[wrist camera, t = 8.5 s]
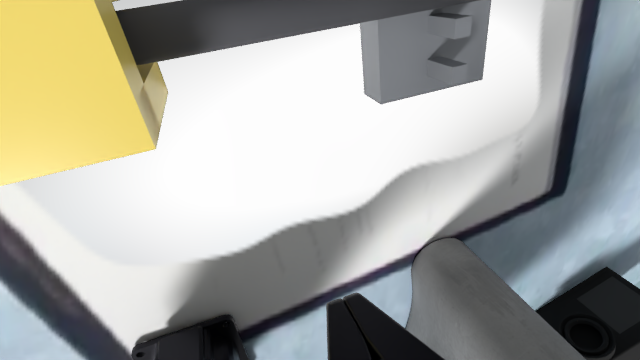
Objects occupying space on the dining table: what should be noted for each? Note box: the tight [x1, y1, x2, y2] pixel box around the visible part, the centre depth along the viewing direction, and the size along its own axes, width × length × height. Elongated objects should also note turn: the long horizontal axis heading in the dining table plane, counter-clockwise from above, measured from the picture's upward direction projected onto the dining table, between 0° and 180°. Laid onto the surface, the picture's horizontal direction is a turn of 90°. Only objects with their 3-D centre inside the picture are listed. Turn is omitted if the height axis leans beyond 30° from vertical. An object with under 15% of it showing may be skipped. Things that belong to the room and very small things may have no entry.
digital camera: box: [536, 267, 640, 360], centre depth 35 cm, size 10×5×7 cm, turn 117°
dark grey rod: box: [115, 0, 479, 65], centre depth 13 cm, size 26×5×6 cm, turn 98°
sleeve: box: [0, 0, 168, 186], centre depth 11 cm, size 5×5×7 cm
